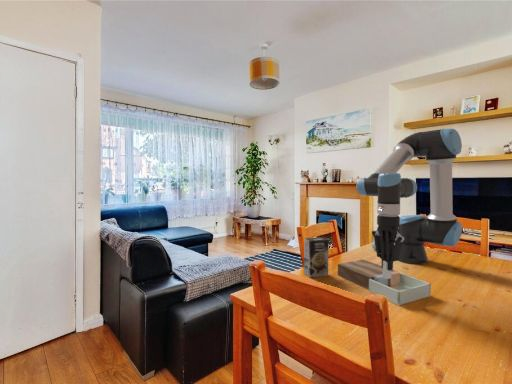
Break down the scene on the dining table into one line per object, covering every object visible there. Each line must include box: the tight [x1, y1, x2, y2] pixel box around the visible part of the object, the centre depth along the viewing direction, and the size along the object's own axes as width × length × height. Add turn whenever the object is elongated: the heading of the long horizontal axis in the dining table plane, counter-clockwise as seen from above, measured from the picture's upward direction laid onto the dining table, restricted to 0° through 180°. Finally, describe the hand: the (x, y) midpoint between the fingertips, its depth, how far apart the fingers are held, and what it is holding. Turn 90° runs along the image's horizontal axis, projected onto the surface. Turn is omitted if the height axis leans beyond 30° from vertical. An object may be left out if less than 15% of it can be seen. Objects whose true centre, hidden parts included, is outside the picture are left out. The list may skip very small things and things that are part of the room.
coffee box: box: [303, 236, 330, 278], centre depth 121 cm, size 9×6×16 cm
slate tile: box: [374, 274, 388, 286], centre depth 104 cm, size 5×5×2 cm
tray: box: [368, 272, 432, 306], centre depth 101 cm, size 17×13×5 cm
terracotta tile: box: [388, 270, 401, 287], centre depth 107 cm, size 5×5×2 cm
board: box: [337, 259, 398, 291], centre depth 115 cm, size 15×18×5 cm
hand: (386, 277), depth 102 cm, fingers closed
